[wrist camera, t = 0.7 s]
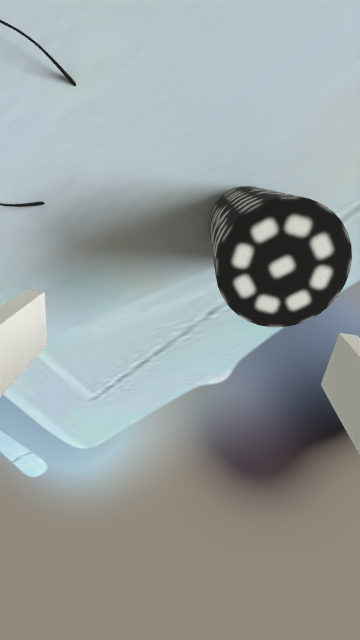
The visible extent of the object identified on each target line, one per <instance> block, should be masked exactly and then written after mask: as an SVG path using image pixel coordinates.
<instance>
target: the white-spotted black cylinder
mask: <svg viewBox="0 0 360 640" xmlns="http://www.w3.org/2000/svg"><path fill="white" fill-rule="evenodd" d="M210 235H211V243H212V250H213V258H214V266H215V273H216V279H217V284H218V288H219V290H220V292H221V294H222V297H223V299H224V300H225V301H226V303H227V304H228V306H229V307H230V308H231V309H232V310H233V311H234V312H235V313H236V314H238V315H239V316H241V317H242V318H244V319H245V320H247V321H249V322H252V323H255V324H257V325H261V326H267V327H286V326H291V325H296V324H299V323H302V322H304V321H307V320H309V319H311V318H312V317H315V316H316V315H318V314H320V313H321V312H322V311H323V310H325V309H326V308H327V307H328V306H329V305H330V304H331V303H332V302H333V301H334V300H335V298H336V297H337V296H338V295H339V293H340V292H341V290H342V288H343V287H344V285H345V283H346V280H347V277H348V275H349V272H350V266H351V260H352V252H351V243H350V239H349V235H348V232H347V231H346V229H345V227H344V225H343V223H342V221H341V220H340V219H339V218H338V217H337V216H336V215H335V213H334V212H333V211H331V210H330V209H328V208H327V207H326V206H324V205H323V204H321V203H319V202H316V201H314V200H311V199H308V198H304V197H299V196H294V195H289V194H285V193H280V192H275V191H271V190H266V189H261V188H257V187H251V186H246V187H239V188H235V189H233V190H231V191H229V192H228V193H226V194H225V195H224V196H222V197H221V199H220V200H219V201H218V202H217V203H216V205H215V207H214V208H213V211H212V214H211V217H210Z"/></svg>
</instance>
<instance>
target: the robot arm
mask: <svg viewBox="0 0 360 640" xmlns="http://www.w3.org/2000/svg"><path fill="white" fill-rule="evenodd" d="M46 347H47V330H46V309H45V291H38V290H30V289H27V290H25V291H24V292H22V293H21V294H19V295H18V296H16V297H15V298H13V299H12V300H10V301H9V302H7V303H6V304H4V305H3V306H1V307H0V398H1V396H2V395H3V394H4V393H5V392H6V391H7V390H8V389H9V388H10V386H11V385H12V384H13V383H14V382H15V381H16V380H17V379H18V378H19V377H20V375H21V374H22V373H23V372H24V371H25V370H26V369H27V368H28V367H29V365H30V364H31V363H32V362H33V361H34V360H35V359H36V358H37V357H38V355H39V354H40V353H41V352H42V351H43V350H44V349H45V348H46ZM321 386H322V388H323V389H324V391H325V393H326V395H327V397H328V398H329V400H330V402H331V404H332V406H333V408H334V409H335V411H336V413H337V415H338V417H339V418H340V420H341V422H342V424H343V425H344V427H345V429H346V431H347V433H348V435H349V436H350V438H351V440H352V442H353V444H354V445H355V447H356V449H357V451H358V452H359V454H360V338H359V337H358V336H357V335H349V334H342V333H340V334H339V336H338V339H337V342H336V345H335V347H334V351H333V353H332V356H331V358H330V361H329V364H328V367H327V369H326V372H325V375H324V377H323V380H322V383H321Z"/></svg>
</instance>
